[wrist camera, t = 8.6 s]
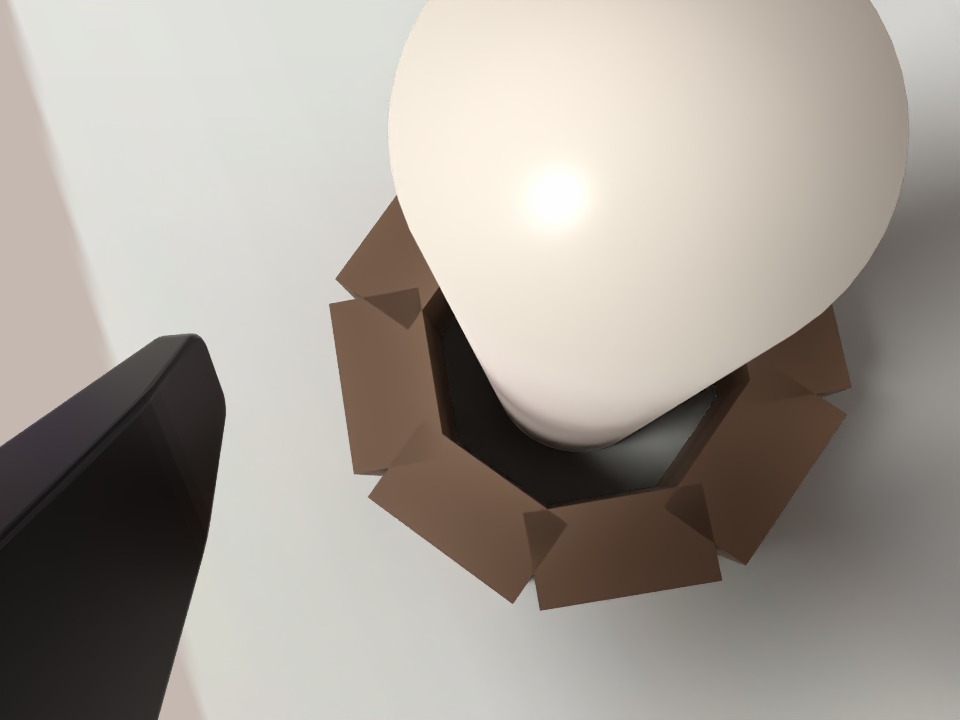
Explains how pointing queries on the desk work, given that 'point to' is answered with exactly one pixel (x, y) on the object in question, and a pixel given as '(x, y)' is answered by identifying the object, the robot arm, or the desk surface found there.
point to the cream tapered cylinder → (641, 188)
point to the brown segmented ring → (582, 523)
